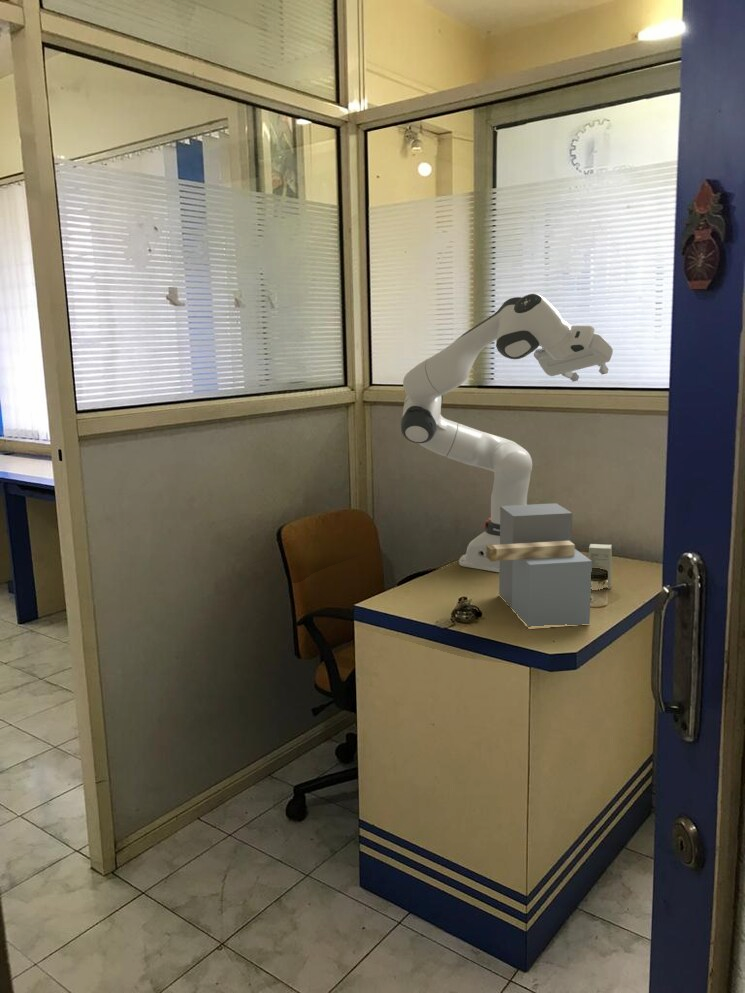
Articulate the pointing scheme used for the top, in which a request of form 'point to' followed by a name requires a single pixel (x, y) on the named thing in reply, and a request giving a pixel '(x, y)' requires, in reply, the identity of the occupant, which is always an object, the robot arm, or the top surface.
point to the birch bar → (530, 550)
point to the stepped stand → (544, 568)
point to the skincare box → (601, 558)
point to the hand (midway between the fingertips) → (590, 375)
